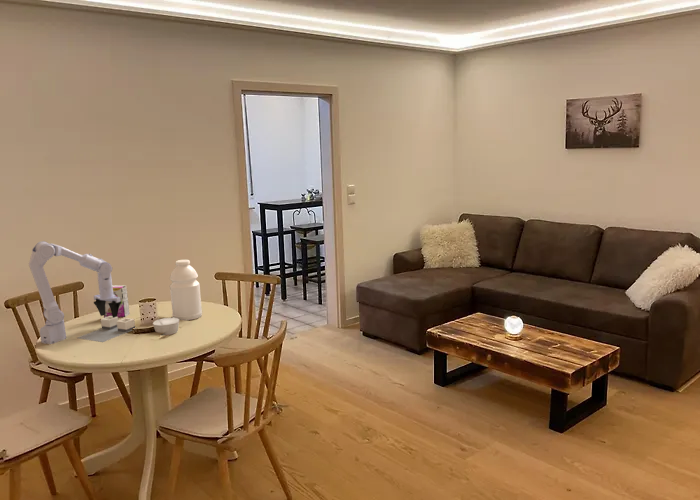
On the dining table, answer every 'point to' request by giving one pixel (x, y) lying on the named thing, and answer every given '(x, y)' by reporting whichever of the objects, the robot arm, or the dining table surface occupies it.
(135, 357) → the dining table surface
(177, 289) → the bottle
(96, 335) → the pin board
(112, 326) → the sleeve
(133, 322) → the seated sleeve
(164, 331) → the ramekin
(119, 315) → the candy bar box
